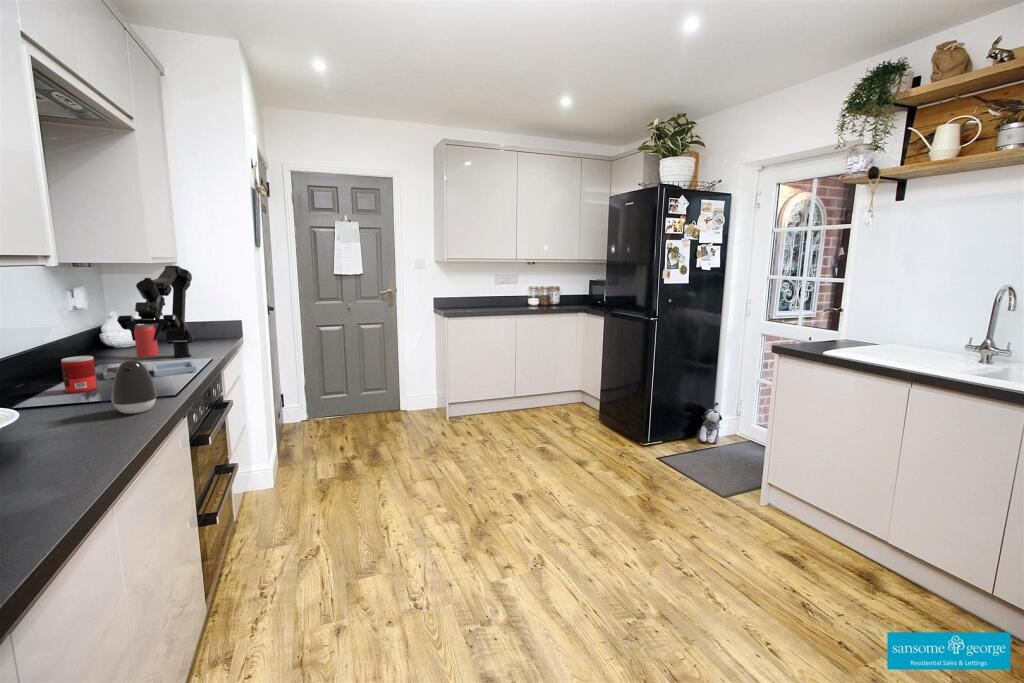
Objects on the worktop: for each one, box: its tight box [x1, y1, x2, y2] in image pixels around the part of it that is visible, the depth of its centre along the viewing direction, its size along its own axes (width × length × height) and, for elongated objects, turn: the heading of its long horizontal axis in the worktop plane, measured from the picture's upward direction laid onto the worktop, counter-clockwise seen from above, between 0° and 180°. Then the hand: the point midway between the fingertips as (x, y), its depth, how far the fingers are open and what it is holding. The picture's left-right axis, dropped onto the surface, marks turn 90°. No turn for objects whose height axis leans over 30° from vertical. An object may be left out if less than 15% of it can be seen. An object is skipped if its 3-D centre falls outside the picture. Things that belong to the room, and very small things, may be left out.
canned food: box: [60, 355, 98, 394], centre depth 157 cm, size 8×8×11 cm
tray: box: [151, 361, 198, 378], centre depth 185 cm, size 13×13×2 cm
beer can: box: [134, 324, 159, 359], centre depth 180 cm, size 7×7×12 cm
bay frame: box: [102, 363, 150, 380], centre depth 180 cm, size 13×13×2 cm
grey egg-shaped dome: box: [111, 359, 158, 415], centre depth 136 cm, size 10×10×15 cm
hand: (144, 339), depth 179 cm, fingers closed on beer can, 7 cm apart
